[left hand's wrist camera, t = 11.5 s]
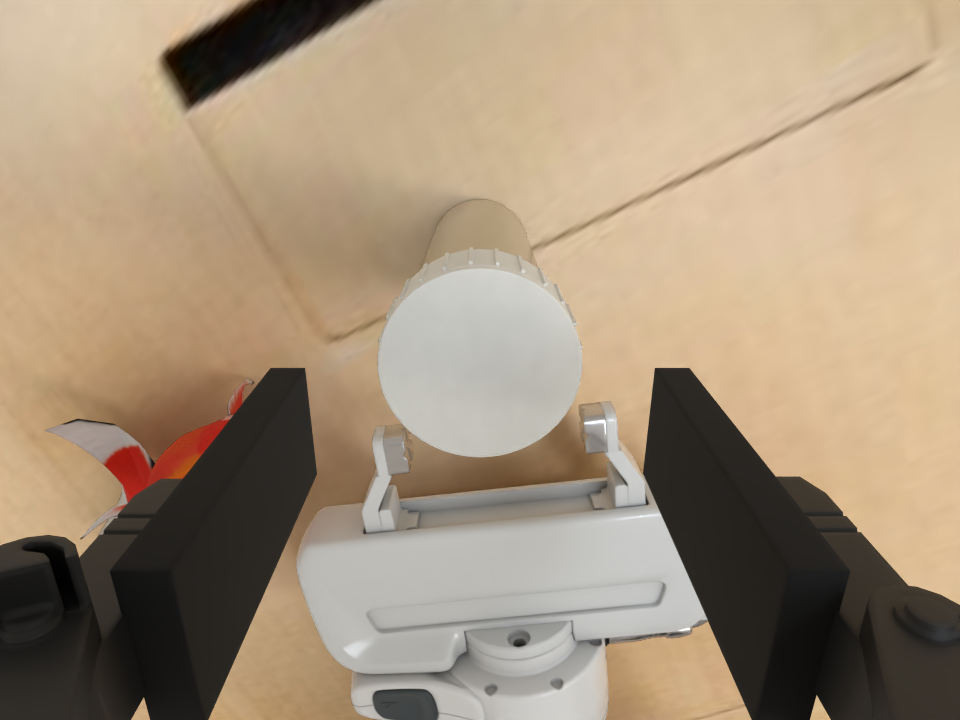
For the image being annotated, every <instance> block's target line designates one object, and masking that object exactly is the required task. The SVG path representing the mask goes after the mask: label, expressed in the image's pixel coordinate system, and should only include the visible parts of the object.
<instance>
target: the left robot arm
mask: <svg viewBox="0 0 960 720" xmlns="http://www.w3.org/2000/svg"><path fill="white" fill-rule="evenodd" d="M316 475H317V470H316V462H315V453H314V444H313V435H312V426H311V417H310V408H309V399H308V390H307V382H306V373H305V368H270V370H269V371H268V372H267V373H266V375H265V376H264V377H263V378H262V380H261V381H260V382H259V383H258V385H257V386H256V387H255V389H254V390H253V391H252V392H251V394H250V395H249V396H248V397H247V399H246V400H245V401H244V402H243V404H242V405H241V406H240V407H239V409H238V410H237V411H236V412H235V414H234V415H233V416H232V417H231V419H230V420H229V421H228V422H227V424H226V425H225V426H224V428H223V429H222V430H221V431H220V433H219V434H218V435H217V436H216V438H215V439H214V440H213V441H212V443H211V444H210V445H209V446H208V448H207V449H206V450H205V451H204V453H203V454H202V455H201V456H200V458H199V459H198V460H197V461H196V463H195V464H194V465H193V467H192V468H191V469H190V470H189V472H188V473H187V474H186V475H185V477H184V478H183V479H160V480H158V481H156V482H155V483H153V484H152V485H150V486H148V487H147V488H145V489H144V490H142V491H141V492H139V493H137V494H136V495H134V497H133V498H132V499H131V500H130V501H129V502H128V503H127V504H126V506H125V507H124V508H123V509H122V510H121V511H120V512H119V513H118V517H117V518H114V519H113V520H112V521H111V523H110V524H109V525H108V526H107V527H106V528H105V529H104V533H103V535H99V536H98V537H97V538H96V539H95V541H94V542H93V543H92V544H91V545H90V546H89V547H88V549H87V550H86V551H85V552H84V553H83V554H82V555H81V556H80V558H79V556H78V552H77V549H76V545H75V544H74V543H72V542H71V541H70V540H68V539H67V538H65V537H59V536H51V535H44V536H36V537H27V538H23V539H20V540H16V541H13V542H10V543H6V544H3V545H1V546H0V720H131V719H132V717H133V715H134V713H135V712H136V710H137V708H138V706H139V705H140V703H141V701H142V699H143V697H144V699H145V702H146V706H147V709H148V713H149V717H150V720H208V719H209V717H210V715H211V712H212V710H213V708H214V706H215V703H216V701H217V699H218V697H219V694H220V692H221V690H222V687H223V685H224V683H225V681H226V678H227V676H228V674H229V672H230V669H231V667H232V665H233V663H234V660H235V658H236V656H237V654H238V651H239V649H240V647H241V645H242V642H243V640H244V638H245V635H246V633H247V631H248V629H249V626H250V624H251V622H252V620H253V617H254V615H255V613H256V611H257V608H258V606H259V604H260V602H261V599H262V597H263V595H264V592H265V590H266V588H267V586H268V583H269V581H270V579H271V577H272V574H273V572H274V570H275V568H276V565H277V563H278V561H279V559H280V556H281V554H282V552H283V549H284V547H285V545H286V543H287V540H288V538H289V536H290V534H291V531H292V529H293V527H294V525H295V522H296V520H297V518H298V516H299V513H300V511H301V509H302V506H303V504H304V502H305V500H306V497H307V495H308V493H309V491H310V488H311V486H312V484H313V482H314V479H315V477H316ZM643 475H644V477H645V479H646V482H647V484H648V486H649V488H650V491H651V493H652V495H653V497H654V500H655V502H656V504H657V506H658V509H659V511H660V513H661V516H662V518H663V520H664V522H665V525H666V527H667V529H668V531H669V534H670V536H671V538H672V540H673V543H674V545H675V547H676V549H677V552H678V554H679V556H680V559H681V561H682V563H683V565H684V568H685V570H686V572H687V574H688V577H689V579H690V581H691V583H692V586H693V588H694V590H695V592H696V595H697V597H698V599H699V602H700V604H701V606H702V608H703V611H704V613H705V615H706V617H707V620H708V622H709V624H710V626H711V629H712V631H713V633H714V635H715V638H716V640H717V642H718V645H719V647H720V649H721V651H722V654H723V656H724V658H725V660H726V663H727V665H728V667H729V669H730V672H731V674H732V676H733V678H734V681H735V683H736V685H737V687H738V690H739V692H740V694H741V697H742V699H743V701H744V703H745V706H746V708H747V710H748V712H749V715H750V717H751V719H752V720H810V717H811V713H812V709H813V706H814V702H815V699H816V695H817V696H818V698H819V700H820V701H821V703H822V705H823V707H824V708H825V710H826V712H827V714H828V715H829V717H830V719H831V720H960V605H959V604H957V603H955V602H953V601H951V600H949V599H947V598H946V597H944V596H942V595H940V594H937V593H934V592H931V591H928V590H925V589H922V588H919V587H913V586H908V585H907V584H906V583H905V582H904V580H903V579H902V578H901V577H900V576H899V575H898V574H897V573H896V571H895V570H894V569H893V568H892V567H891V566H890V565H889V564H888V562H887V561H886V560H885V559H884V558H883V557H882V556H881V555H880V553H879V552H878V551H877V550H876V549H875V548H874V547H873V546H872V544H871V543H870V542H869V541H868V540H867V539H866V538H865V537H864V535H863V534H862V533H861V532H857V528H856V526H855V525H854V524H853V523H852V522H851V521H850V520H849V519H848V518H847V516H843V512H842V511H841V510H840V509H839V507H838V506H837V505H836V504H835V503H834V502H833V501H832V500H831V498H830V497H829V496H828V495H827V494H826V493H825V492H823V491H822V490H820V489H818V488H817V487H815V486H814V485H812V484H810V483H809V482H807V481H806V480H804V479H802V478H801V477H775V475H774V474H773V473H772V472H771V470H770V469H769V468H768V467H767V465H766V464H765V463H764V461H763V460H762V459H761V458H760V456H759V455H758V454H757V453H756V451H755V450H754V449H753V448H752V446H751V445H750V444H749V443H748V441H747V440H746V439H745V438H744V436H743V435H742V434H741V433H740V431H739V430H738V429H737V428H736V426H735V425H734V424H733V422H732V421H731V420H730V419H729V417H728V416H727V415H726V414H725V412H724V411H723V410H722V409H721V407H720V406H719V405H718V404H717V402H716V401H715V400H714V399H713V397H712V396H711V395H710V394H709V392H708V391H707V390H706V389H705V387H704V386H703V385H702V383H701V382H700V381H699V380H698V378H697V377H696V376H695V375H694V373H693V372H692V371H691V370H690V368H655V373H654V382H653V390H652V399H651V408H650V417H649V426H648V435H647V444H646V453H645V462H644V470H643Z"/></svg>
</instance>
